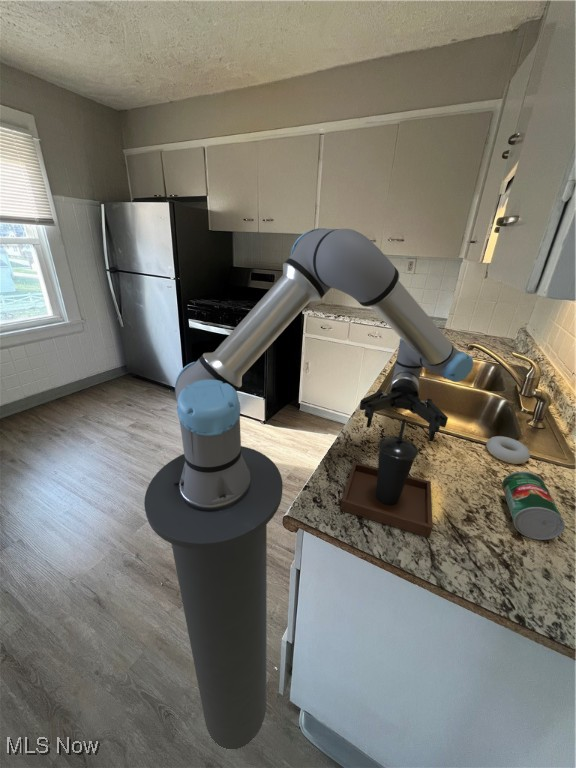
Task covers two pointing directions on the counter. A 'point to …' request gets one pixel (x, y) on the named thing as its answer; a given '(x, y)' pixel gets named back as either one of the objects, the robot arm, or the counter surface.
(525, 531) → the canned tomato
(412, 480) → the tray
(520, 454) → the donut
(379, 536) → the counter surface
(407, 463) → the drinking cup
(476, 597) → the counter surface
